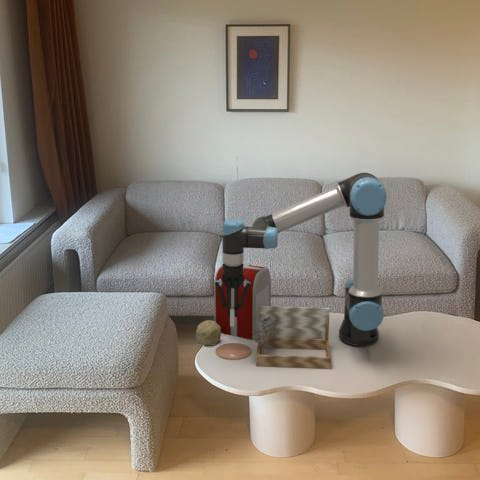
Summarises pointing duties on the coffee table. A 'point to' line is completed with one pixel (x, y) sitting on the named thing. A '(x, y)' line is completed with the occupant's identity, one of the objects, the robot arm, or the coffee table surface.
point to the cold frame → (296, 336)
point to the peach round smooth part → (233, 351)
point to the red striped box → (254, 298)
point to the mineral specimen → (265, 330)
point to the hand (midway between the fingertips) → (232, 324)
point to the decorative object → (208, 333)
